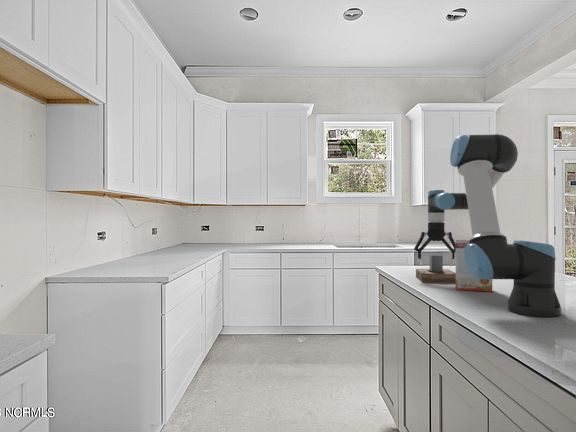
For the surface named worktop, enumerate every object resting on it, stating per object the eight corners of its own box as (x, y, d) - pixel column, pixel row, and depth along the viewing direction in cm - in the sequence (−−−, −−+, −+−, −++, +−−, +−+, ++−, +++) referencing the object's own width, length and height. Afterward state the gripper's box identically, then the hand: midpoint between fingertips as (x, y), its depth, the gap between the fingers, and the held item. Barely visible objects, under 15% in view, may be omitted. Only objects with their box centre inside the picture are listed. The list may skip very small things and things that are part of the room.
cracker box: (491, 289, 170) (491, 240, 170) (492, 292, 165) (492, 241, 164) (455, 287, 176) (455, 239, 175) (455, 289, 170) (455, 240, 170)
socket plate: (457, 283, 186) (457, 274, 186) (421, 282, 188) (421, 273, 188) (448, 277, 202) (448, 269, 202) (415, 276, 204) (415, 268, 204)
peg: (442, 280, 193) (442, 255, 192) (431, 280, 193) (431, 255, 193) (440, 279, 197) (440, 254, 197) (429, 278, 198) (429, 254, 198)
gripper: (461, 221, 197) (460, 265, 197) (408, 221, 200) (408, 264, 201) (465, 222, 190) (465, 267, 190) (410, 221, 193) (410, 266, 193)
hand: (435, 265), depth 195 cm, fingers open, 13 cm apart
